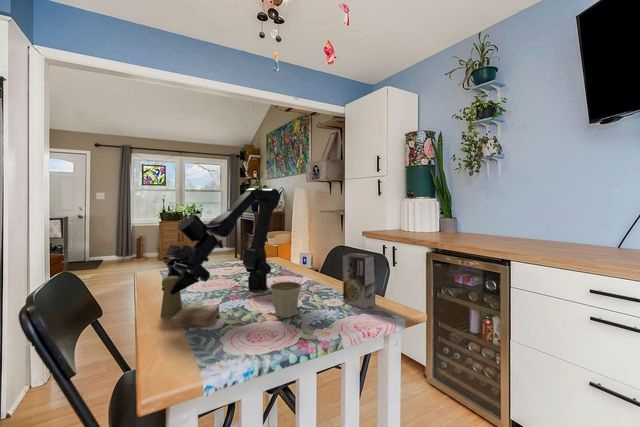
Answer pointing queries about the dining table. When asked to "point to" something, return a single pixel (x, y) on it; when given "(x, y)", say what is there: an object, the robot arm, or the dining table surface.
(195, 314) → the walnut plinth
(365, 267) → the coffee box
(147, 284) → the dining table surface
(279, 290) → the flower pot
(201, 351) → the dining table surface
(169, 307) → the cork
